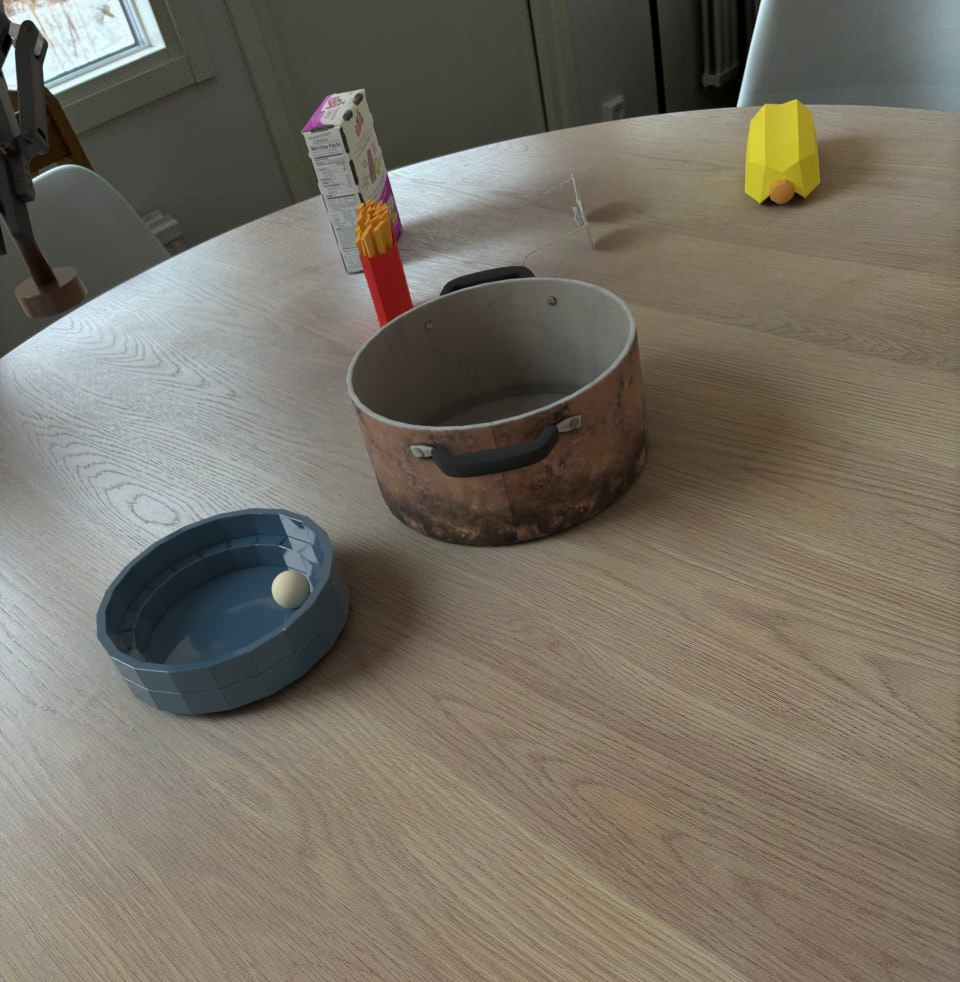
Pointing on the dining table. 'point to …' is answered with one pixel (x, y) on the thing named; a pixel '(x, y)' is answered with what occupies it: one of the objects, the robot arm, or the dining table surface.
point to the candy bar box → (348, 167)
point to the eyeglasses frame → (577, 216)
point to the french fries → (381, 262)
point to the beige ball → (291, 589)
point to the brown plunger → (45, 281)
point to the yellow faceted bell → (781, 153)
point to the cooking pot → (503, 407)
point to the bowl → (222, 611)
